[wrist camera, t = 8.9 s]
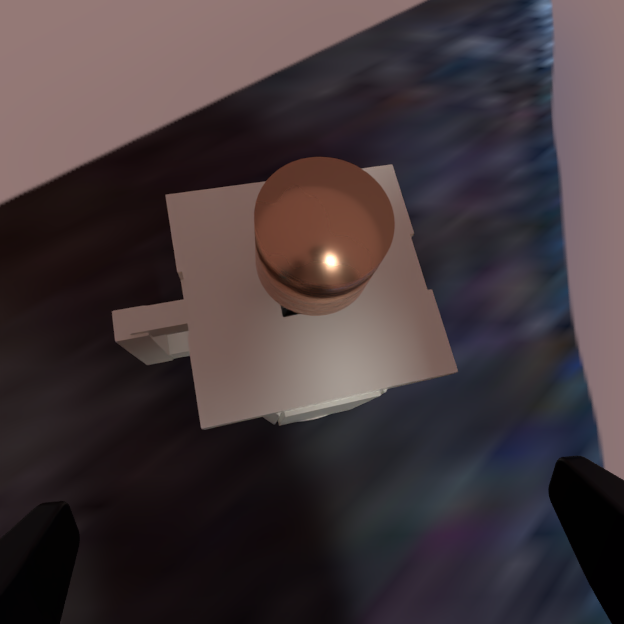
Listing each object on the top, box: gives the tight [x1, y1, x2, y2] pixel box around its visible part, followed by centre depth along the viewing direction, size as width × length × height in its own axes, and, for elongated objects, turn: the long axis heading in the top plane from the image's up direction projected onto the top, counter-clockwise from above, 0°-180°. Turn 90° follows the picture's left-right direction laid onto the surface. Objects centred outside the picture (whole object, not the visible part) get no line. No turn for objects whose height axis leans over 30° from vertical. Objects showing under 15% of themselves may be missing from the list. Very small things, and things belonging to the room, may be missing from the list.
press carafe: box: [112, 164, 458, 430], centre depth 16 cm, size 8×10×6 cm
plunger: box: [254, 157, 395, 317], centre depth 14 cm, size 5×5×9 cm
